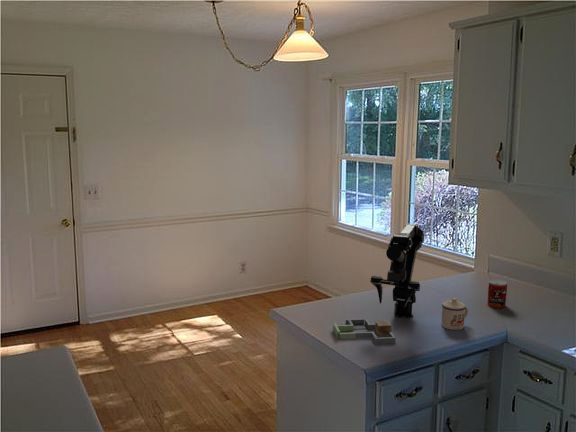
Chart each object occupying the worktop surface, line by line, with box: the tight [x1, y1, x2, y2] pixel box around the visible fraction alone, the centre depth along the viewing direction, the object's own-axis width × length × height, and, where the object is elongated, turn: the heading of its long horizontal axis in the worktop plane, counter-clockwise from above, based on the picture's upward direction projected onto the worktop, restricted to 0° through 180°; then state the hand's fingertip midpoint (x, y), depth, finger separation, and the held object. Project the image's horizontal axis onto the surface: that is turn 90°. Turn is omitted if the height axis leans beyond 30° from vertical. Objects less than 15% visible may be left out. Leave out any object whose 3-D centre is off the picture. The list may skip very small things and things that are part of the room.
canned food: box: [487, 279, 508, 309], centre depth 241 cm, size 8×8×11 cm
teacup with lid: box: [441, 297, 469, 331], centre depth 218 cm, size 12×9×12 cm
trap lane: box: [332, 318, 396, 345], centre depth 210 cm, size 21×20×3 cm
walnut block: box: [374, 320, 393, 336], centre depth 211 cm, size 5×5×4 cm
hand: (392, 305), depth 210 cm, fingers open, 9 cm apart
